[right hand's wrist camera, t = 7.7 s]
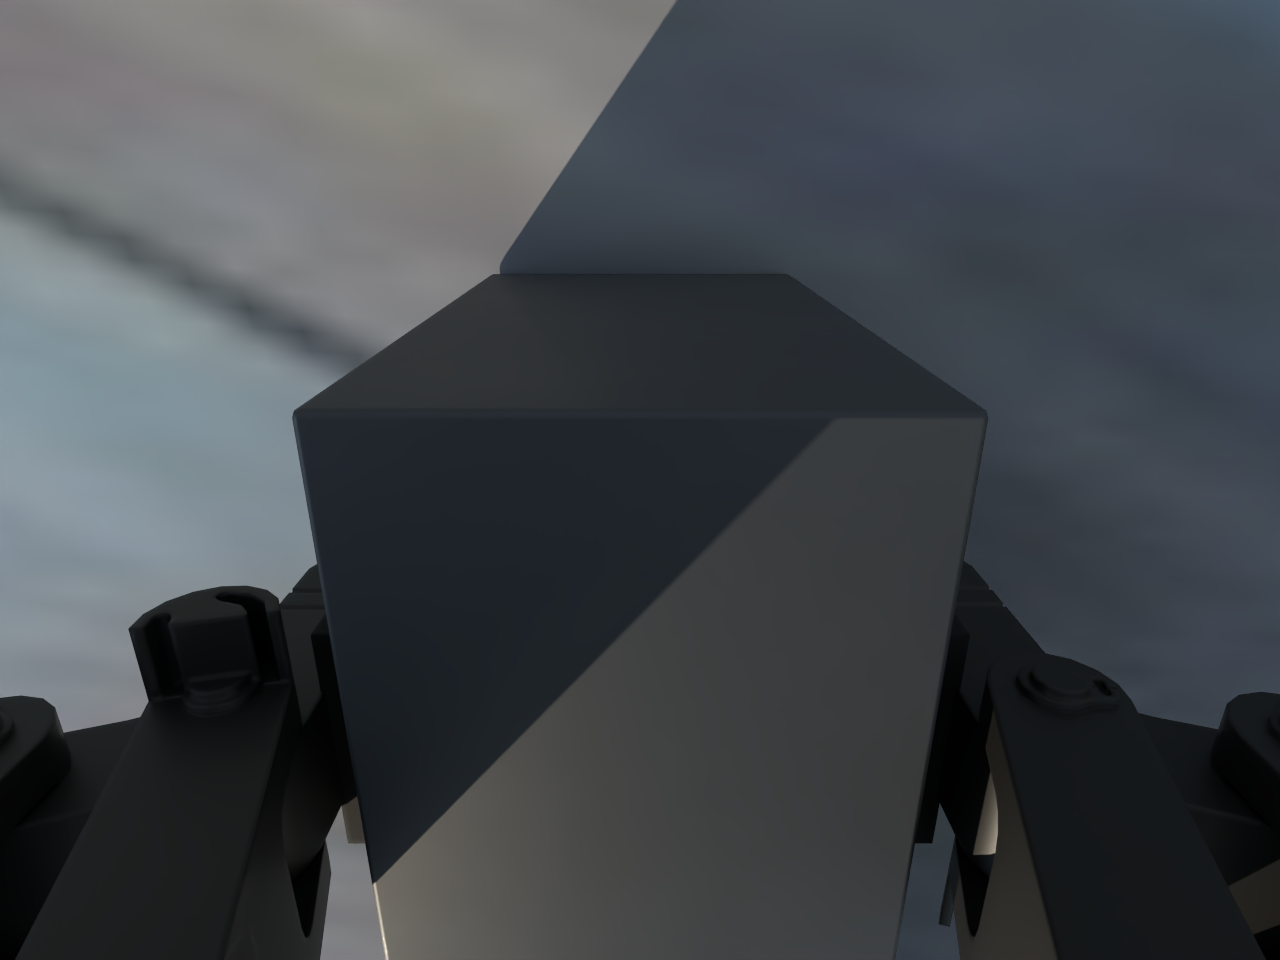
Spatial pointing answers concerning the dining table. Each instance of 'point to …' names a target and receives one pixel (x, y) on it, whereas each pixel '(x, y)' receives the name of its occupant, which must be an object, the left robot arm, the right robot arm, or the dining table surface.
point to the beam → (640, 617)
